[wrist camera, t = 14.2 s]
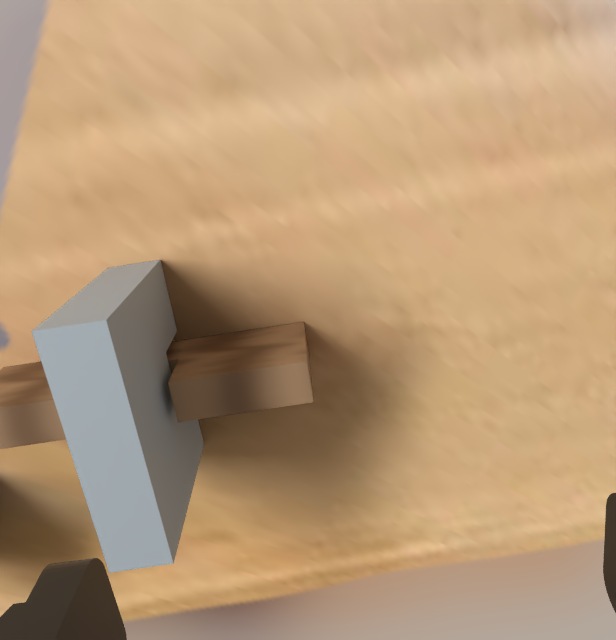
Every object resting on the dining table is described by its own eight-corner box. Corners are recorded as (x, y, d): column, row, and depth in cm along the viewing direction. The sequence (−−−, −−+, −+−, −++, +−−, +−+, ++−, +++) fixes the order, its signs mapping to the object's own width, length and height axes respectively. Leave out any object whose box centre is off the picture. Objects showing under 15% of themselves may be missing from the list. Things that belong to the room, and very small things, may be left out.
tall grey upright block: (157, 451, 50) (109, 572, 36) (107, 267, 44) (31, 331, 31) (203, 444, 50) (173, 563, 36) (160, 259, 44) (106, 320, 31)
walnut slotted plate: (15, 401, 48) (-37, 454, 40) (3, 367, 47) (-52, 415, 39) (309, 356, 47) (313, 402, 40) (303, 321, 46) (306, 361, 39)
